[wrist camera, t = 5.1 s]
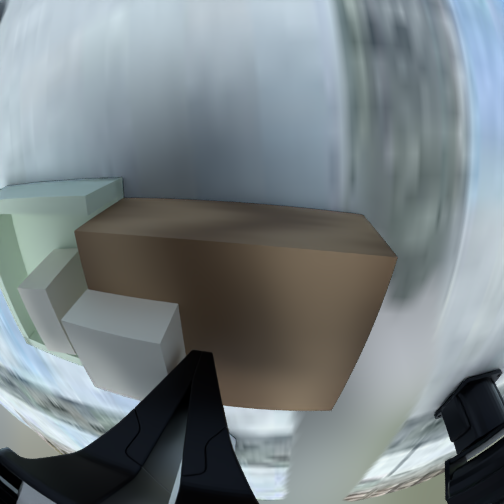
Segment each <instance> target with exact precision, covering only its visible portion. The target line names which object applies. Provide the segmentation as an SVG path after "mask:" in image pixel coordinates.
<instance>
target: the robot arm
mask: <svg viewBox="0 0 504 504" xmlns="http://www.w3.org/2000/svg"><path fill="white" fill-rule="evenodd" d="M501 374H502V371H501V370H497V371H494V372H490V373H487V374H483V375H479V376H475V377H471V378H468V379H466V380H465V381H464V382H463V383H462V384H461V385H460V386H459V388H458V389H457V390H456V391H455V392H454V394H453V395H452V396H451V397H450V398H449V399H448V400H447V402H446V403H445V404H444V405H443V406H442V407H441V408H440V409H439V410H438V411H437V413H436V414H435V415H434V416H435V419H437V418H441V417H443V419H444V422H445V425H446V428H447V431H448V434H449V437H450V441H451V442H454V445H455V449H456V452H457V454H458V455H456V456H455V457H453V458H451V459H448V460H447V461H445V495H446V496H445V499H446V501H447V503H448V504H504V437H503V438H502V439H500V440H499V441H498V442H496V443H495V444H494V445H492V446H491V447H489V448H488V449H487V450H485V451H484V452H482V453H481V454H479V455H478V456H476V457H475V458H473V459H471V460H470V461H468V462H467V460H468V459H470V458H471V457H473V456H474V455H476V454H477V453H479V452H480V451H482V450H483V449H485V448H486V447H488V446H489V445H490V444H492V443H493V442H495V441H496V440H497V439H498V438H500V437H501V436H503V435H504V400H503V398H502V396H501V394H500V392H499V390H498V388H497V386H496V384H495V382H496V381H497V379H498V378H499V377H500V376H501ZM459 453H460V454H459ZM181 460H182V466H181V478H180V485H179V491H178V494H177V497H176V501H175V504H259V503H258V501H257V499H256V498H255V496H254V494H253V492H252V490H251V488H250V486H249V484H248V482H247V480H246V477H245V475H244V473H243V471H242V469H241V466H240V464H239V462H238V459H237V457H236V454H235V452H234V449H233V445H232V442H231V438H230V434H229V430H228V427H227V422H226V417H225V412H224V408H223V403H222V398H221V393H220V388H219V383H218V378H217V373H216V367H215V362H214V356H213V353H212V352H207V351H200V350H191V351H190V352H189V353H188V354H187V355H186V356H185V357H184V359H183V360H182V361H181V362H180V363H179V364H178V365H177V366H176V367H175V368H174V369H173V370H172V371H171V372H170V373H169V374H168V375H167V376H166V377H165V378H164V379H163V380H162V381H161V382H160V383H159V384H158V385H157V386H156V387H155V388H154V389H153V390H152V391H151V392H150V393H149V394H148V395H147V396H146V397H145V398H144V399H143V400H142V401H141V402H140V403H139V404H138V405H137V406H136V407H135V409H133V410H132V411H131V412H130V413H129V414H128V415H127V416H126V417H124V418H123V419H122V420H121V421H120V422H119V423H118V424H116V425H115V426H114V427H113V428H111V429H110V430H109V431H107V432H106V433H105V434H103V435H102V436H101V437H99V438H98V439H96V440H95V441H94V442H92V443H91V444H89V445H88V446H87V447H85V448H83V449H81V450H79V451H77V452H74V453H70V454H64V455H58V456H52V457H46V458H38V459H27V458H23V457H20V456H19V455H17V454H16V453H15V452H13V451H12V450H11V449H10V448H8V447H6V448H2V449H0V504H169V500H170V497H171V493H172V490H173V487H174V484H175V480H176V477H177V474H178V470H179V467H180V464H181Z"/></svg>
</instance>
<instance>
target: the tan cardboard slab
mask: <svg viewBox="0 0 504 504" xmlns="http://www.w3.org/2000/svg"><path fill="white" fill-rule="evenodd" d="M74 233H75V238H76V243H77V248H78V252H79V256H80V260H81V264H82V268H83V272H84V276H85V279H86V283H87V286H88V289H89V290H94V291H100V292H105V293H111V294H117V295H123V296H129V297H135V298H141V299H148V300H155V301H162V302H169V303H176V304H178V306H179V313H180V320H181V327H182V334H183V340H184V346H185V352H186V355H187V354H188V353H189V352H190V351H191V350H200V351H207V352H212V353H213V356H214V362H215V367H216V373H217V378H218V383H219V388H220V393H221V398H222V403H223V405H225V406H233V407H243V408H254V409H268V410H289V411H329V410H332V409H333V407H334V405H335V403H336V402H337V400H338V398H339V396H340V394H341V392H342V391H343V389H344V387H345V385H346V383H347V381H348V379H349V377H350V375H351V373H352V371H353V369H354V367H355V365H356V363H357V360H358V359H359V356H360V354H361V352H362V350H363V348H364V346H365V343H366V341H367V339H368V337H369V334H370V332H371V330H372V327H373V325H374V322H375V320H376V317H377V315H378V312H379V310H380V307H381V305H382V302H383V299H384V297H385V294H386V291H387V288H388V285H389V283H390V280H391V277H392V274H393V271H394V268H395V264H396V261H397V258H398V257H397V256H396V255H395V253H394V252H393V251H392V249H391V248H390V247H389V246H388V244H387V243H386V242H385V241H384V239H383V238H382V237H381V236H380V234H379V233H378V232H377V231H376V230H375V228H374V227H373V226H372V225H371V224H370V222H369V221H368V220H367V219H366V218H365V216H364V215H361V214H353V213H345V212H337V211H328V210H319V209H310V208H300V207H289V206H278V205H267V204H254V203H241V202H226V201H209V200H189V199H163V198H122V199H121V200H119V201H118V202H116V203H114V204H113V205H111V206H110V207H108V208H107V209H105V210H104V211H102V212H101V213H99V214H98V215H96V216H95V217H93V218H92V219H90V220H89V221H87V222H86V223H84V224H83V225H82V226H80V227H79V228H77V229H76V230H75V231H74Z"/></svg>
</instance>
